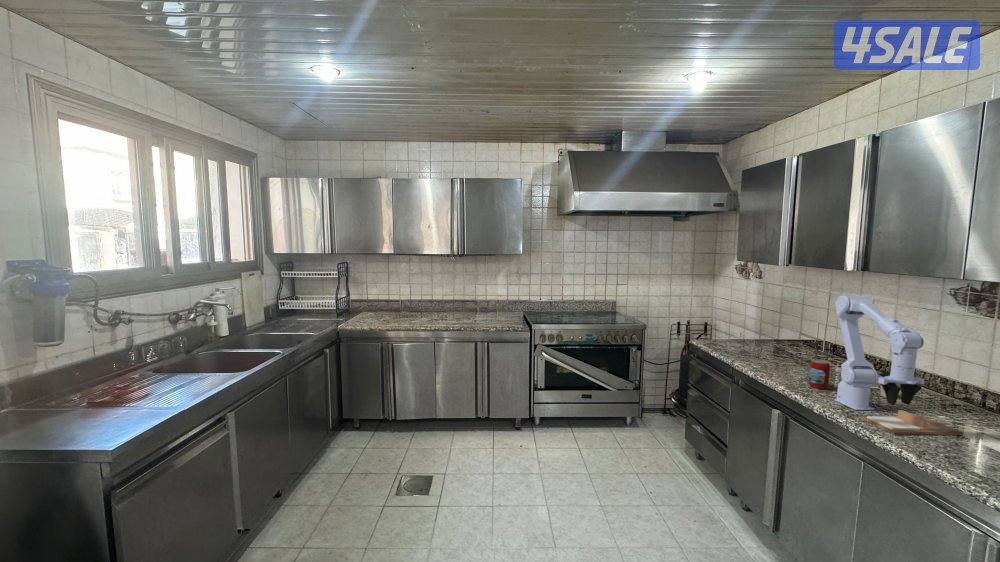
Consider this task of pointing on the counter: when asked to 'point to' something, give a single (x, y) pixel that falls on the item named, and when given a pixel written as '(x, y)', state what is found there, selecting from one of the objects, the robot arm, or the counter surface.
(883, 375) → the coffee cup
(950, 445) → the counter surface
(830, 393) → the counter surface
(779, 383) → the counter surface
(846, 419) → the counter surface
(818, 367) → the beverage can
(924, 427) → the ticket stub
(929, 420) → the board
